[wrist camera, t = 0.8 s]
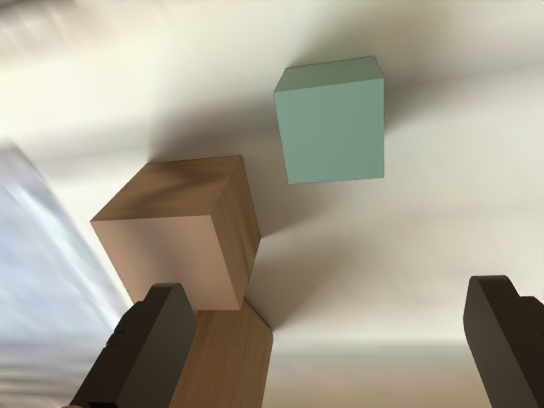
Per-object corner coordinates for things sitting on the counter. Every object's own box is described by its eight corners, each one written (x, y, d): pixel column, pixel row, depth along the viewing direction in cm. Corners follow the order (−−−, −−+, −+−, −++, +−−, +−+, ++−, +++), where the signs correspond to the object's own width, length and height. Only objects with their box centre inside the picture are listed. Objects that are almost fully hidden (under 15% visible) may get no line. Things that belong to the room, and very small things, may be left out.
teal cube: (374, 55, 22) (383, 78, 17) (375, 139, 25) (383, 177, 20) (285, 68, 23) (273, 92, 18) (297, 146, 26) (288, 184, 21)
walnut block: (241, 154, 27) (210, 215, 20) (261, 237, 31) (240, 310, 24) (146, 163, 29) (89, 221, 22) (177, 240, 33) (136, 309, 26)
